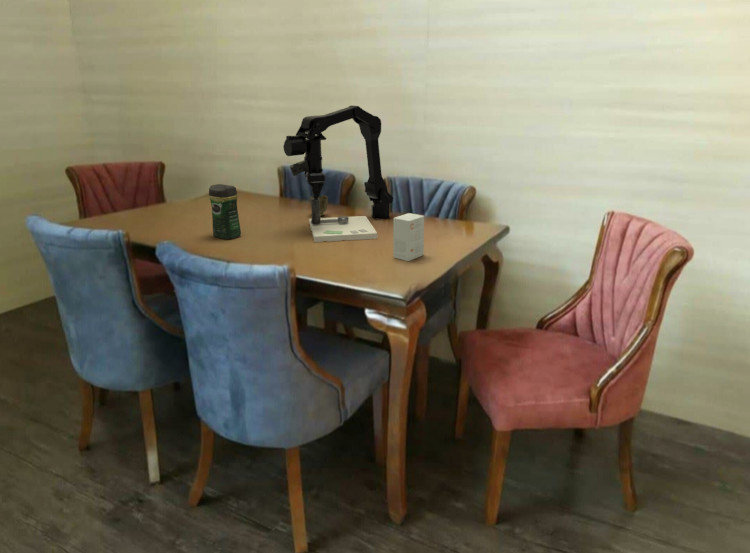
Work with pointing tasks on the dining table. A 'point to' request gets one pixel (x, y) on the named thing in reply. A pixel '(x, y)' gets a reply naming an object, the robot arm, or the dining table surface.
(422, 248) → the small box
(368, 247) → the dining table surface
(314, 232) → the dial plate
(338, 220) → the dark knobbed cylinder
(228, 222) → the coffee jar
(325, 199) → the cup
